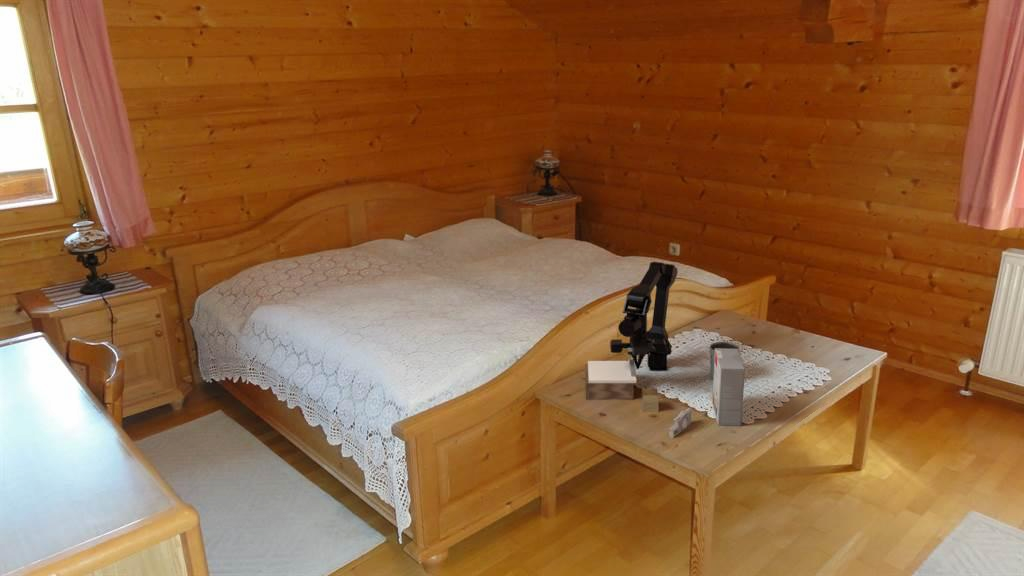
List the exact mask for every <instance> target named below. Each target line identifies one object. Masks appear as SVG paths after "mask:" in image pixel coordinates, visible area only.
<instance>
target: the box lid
mask: <svg viewBox="0 0 1024 576" xmlns="http://www.w3.org/2000/svg"><path fill="white" fill-rule="evenodd" d="M587 364H588V377H589V383H634V384H637V371H636V370H637V369H636V366H635V363H634V360H633V358H630V359H629V360H588V361H587Z"/></svg>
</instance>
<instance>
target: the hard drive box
mask: <svg viewBox="0 0 1024 576" xmlns="http://www.w3.org/2000/svg"><path fill="white" fill-rule="evenodd" d="M745 372H746V368H745V365H744V362H743V360H742V356H741V353H740V349H739V350H738V349H726V348H715V360H714V381H713V380H712V381H713V383H712V385H713V386H712V405H713V407H712V408H713V410H714V417H715V419H716V424H717V425H718V426H729V427H730V426H732V427H733V426H734V427H737V426H738V427H741V426H742V424H743V423H742V421H743V420H742V419H743V408H744V407H743V405H744V391H745V375H746V374H745Z"/></svg>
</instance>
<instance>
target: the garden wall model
mask: <svg viewBox="0 0 1024 576" xmlns="http://www.w3.org/2000/svg"><path fill="white" fill-rule="evenodd" d="M692 411H693V409H692V407H686V409H685V410H681V411H680V413H678V414H677V416H676V417H675V418H673V421H674V424H673V425H672V426H671V427H669V428H668V430H669V437H670V438H672V437H673V438H675V437H676V436H677V435H678V434H680V433H681V432H683V431H684V430H686V428H687V427H688V426H689V425H691V424H692ZM675 435H676V436H675Z"/></svg>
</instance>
